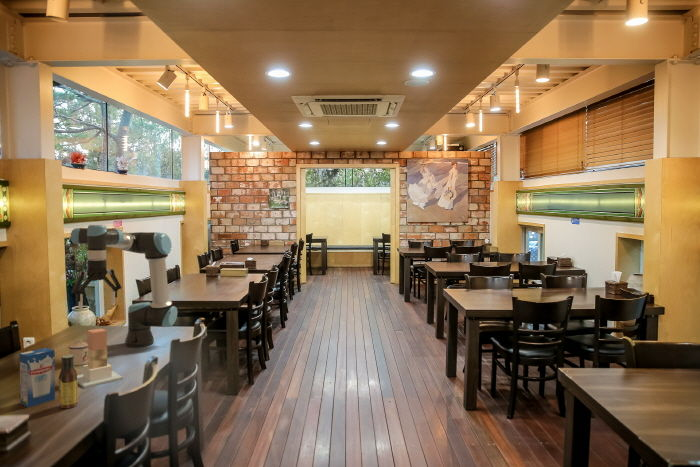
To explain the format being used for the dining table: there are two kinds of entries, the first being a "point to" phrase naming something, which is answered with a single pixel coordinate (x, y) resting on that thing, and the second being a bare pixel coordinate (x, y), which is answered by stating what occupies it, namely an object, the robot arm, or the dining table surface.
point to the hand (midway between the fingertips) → (97, 306)
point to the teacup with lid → (79, 352)
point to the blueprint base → (89, 384)
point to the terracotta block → (97, 339)
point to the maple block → (97, 358)
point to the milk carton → (37, 377)
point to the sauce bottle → (68, 383)
